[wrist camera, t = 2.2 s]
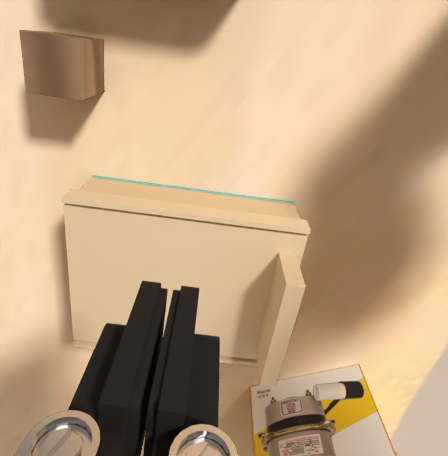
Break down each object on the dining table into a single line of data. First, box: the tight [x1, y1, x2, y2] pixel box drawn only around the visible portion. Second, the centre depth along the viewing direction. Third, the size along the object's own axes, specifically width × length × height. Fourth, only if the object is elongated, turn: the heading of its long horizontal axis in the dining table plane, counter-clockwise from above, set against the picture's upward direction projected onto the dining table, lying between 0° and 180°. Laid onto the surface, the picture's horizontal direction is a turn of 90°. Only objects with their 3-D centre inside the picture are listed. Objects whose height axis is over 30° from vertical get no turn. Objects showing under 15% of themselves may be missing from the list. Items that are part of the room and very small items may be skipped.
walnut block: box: [19, 30, 104, 100], centre depth 31 cm, size 4×4×6 cm
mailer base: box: [80, 176, 301, 219], centre depth 40 cm, size 22×16×7 cm
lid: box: [62, 189, 311, 387], centre depth 34 cm, size 22×18×7 cm
